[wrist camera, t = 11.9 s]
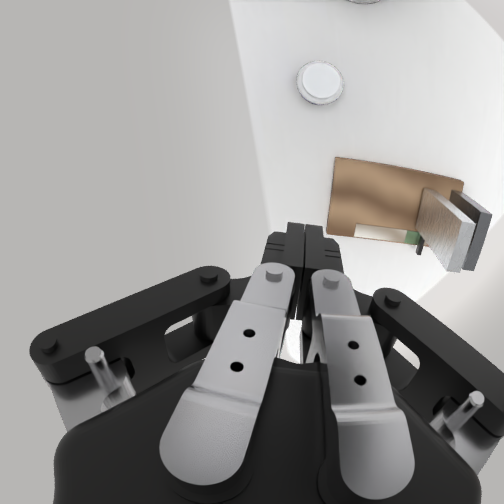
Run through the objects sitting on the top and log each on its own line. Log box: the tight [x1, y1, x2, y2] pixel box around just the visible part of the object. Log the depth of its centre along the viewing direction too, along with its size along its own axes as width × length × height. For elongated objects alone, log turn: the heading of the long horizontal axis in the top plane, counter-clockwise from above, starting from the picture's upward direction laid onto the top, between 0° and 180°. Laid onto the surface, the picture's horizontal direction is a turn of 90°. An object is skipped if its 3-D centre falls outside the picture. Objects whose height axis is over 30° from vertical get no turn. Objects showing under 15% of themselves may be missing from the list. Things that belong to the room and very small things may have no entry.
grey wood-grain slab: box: [449, 190, 492, 271], centre depth 32 cm, size 8×2×9 cm, turn 178°
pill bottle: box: [297, 61, 344, 105], centre depth 29 cm, size 5×5×9 cm
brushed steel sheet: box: [415, 188, 476, 272], centre depth 32 cm, size 9×2×12 cm, turn 178°
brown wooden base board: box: [326, 157, 464, 247], centre depth 38 cm, size 11×20×2 cm, turn 88°
